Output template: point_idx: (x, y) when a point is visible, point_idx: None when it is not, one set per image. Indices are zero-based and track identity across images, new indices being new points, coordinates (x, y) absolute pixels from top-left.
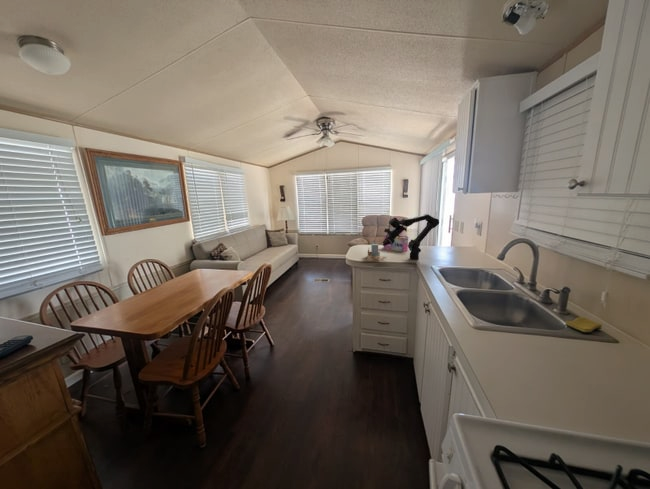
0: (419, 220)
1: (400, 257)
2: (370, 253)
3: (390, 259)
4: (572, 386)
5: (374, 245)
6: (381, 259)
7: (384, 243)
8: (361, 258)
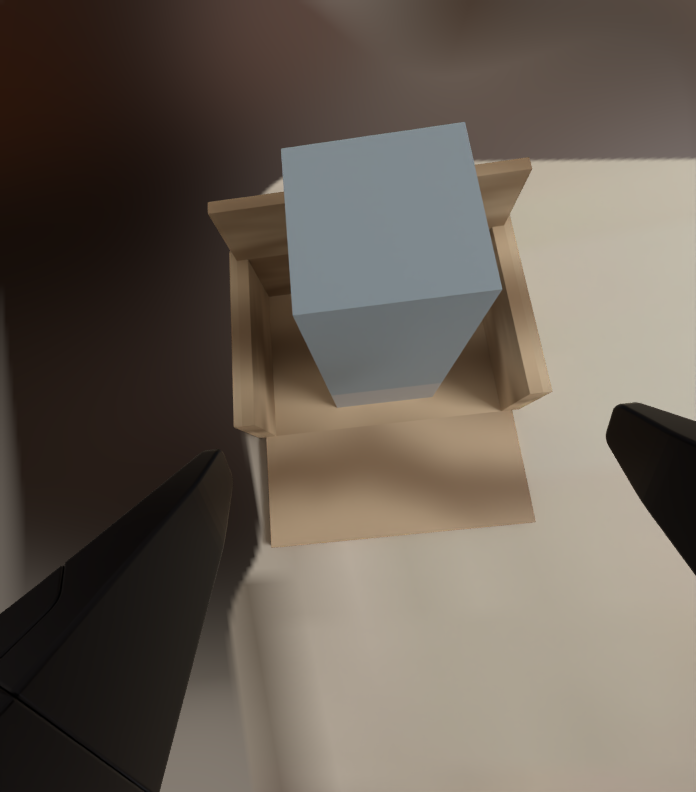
0: None
1: (606, 781)
2: None
3: (414, 592)
4: None
5: (289, 223)
6: (343, 457)
7: (128, 528)
8: None
